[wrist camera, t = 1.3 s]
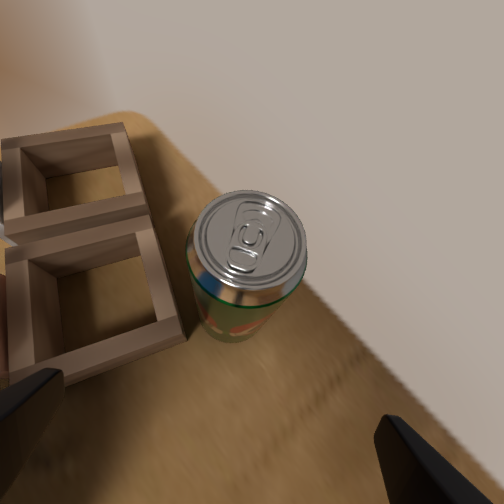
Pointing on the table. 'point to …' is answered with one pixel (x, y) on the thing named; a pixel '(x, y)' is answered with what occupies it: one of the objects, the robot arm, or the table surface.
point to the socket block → (73, 253)
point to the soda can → (244, 262)
